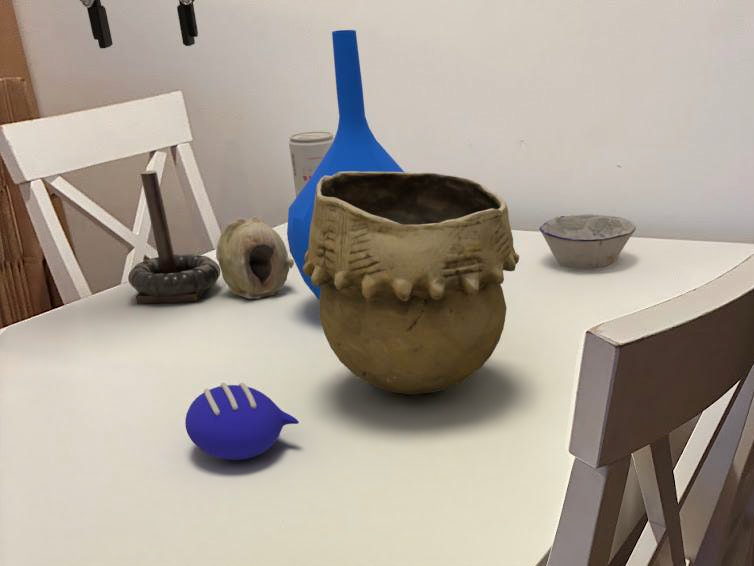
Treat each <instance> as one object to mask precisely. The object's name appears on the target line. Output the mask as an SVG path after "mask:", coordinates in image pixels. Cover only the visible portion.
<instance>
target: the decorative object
mask: <svg viewBox="0 0 754 566" xmlns="http://www.w3.org/2000/svg"><path fill="white" fill-rule="evenodd" d="M185 415H186V416H185V421H184V424H185V429H186V432H187V435H188V437H189V439H190V441H192V443H193V444H194V445H195V446H196V447H197V448H199V449H200V450H201V451H202V452H204V453H206V454H207V455H209V456H211V457H215V458H218V459H222V460H227V461H228V460H229V461H241V460H247V459H251V458H252V459H253V458H254V457H257V456H259V455H262V454H263V453H265V452H266V451H268V450H269V449H270V448H272V446H274V444H275V443H276V442H277V440H278V438H279V436H280V434H281V432H282V430H283V427H284V426H287V425H298V424H299V420H298V419H297V418H296V417H295V416H293V415H291V414H289V413H287V412H286V411H283V410H282V409H281V408H280V407H279V406H278V405H277V404H276V403H275V402H274V401H273V400H272V399H271V398H270V397H269V396H267V395H266V394H264V393H263V392H261V390H260V391H259V390H257V389H255V388H254V387H250V386H247V384H246V383H244V382H242V381H241V382H239V384H227V383H225V382H220V386H217V387H212V388H211V389H209V388H204V390H203V392H202V393H201V394H199V395H198V396H197V397H196V398H195V399H194V400H193V401H191V404H190V405H189V407H188V409H187V412H186V414H185Z"/></svg>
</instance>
